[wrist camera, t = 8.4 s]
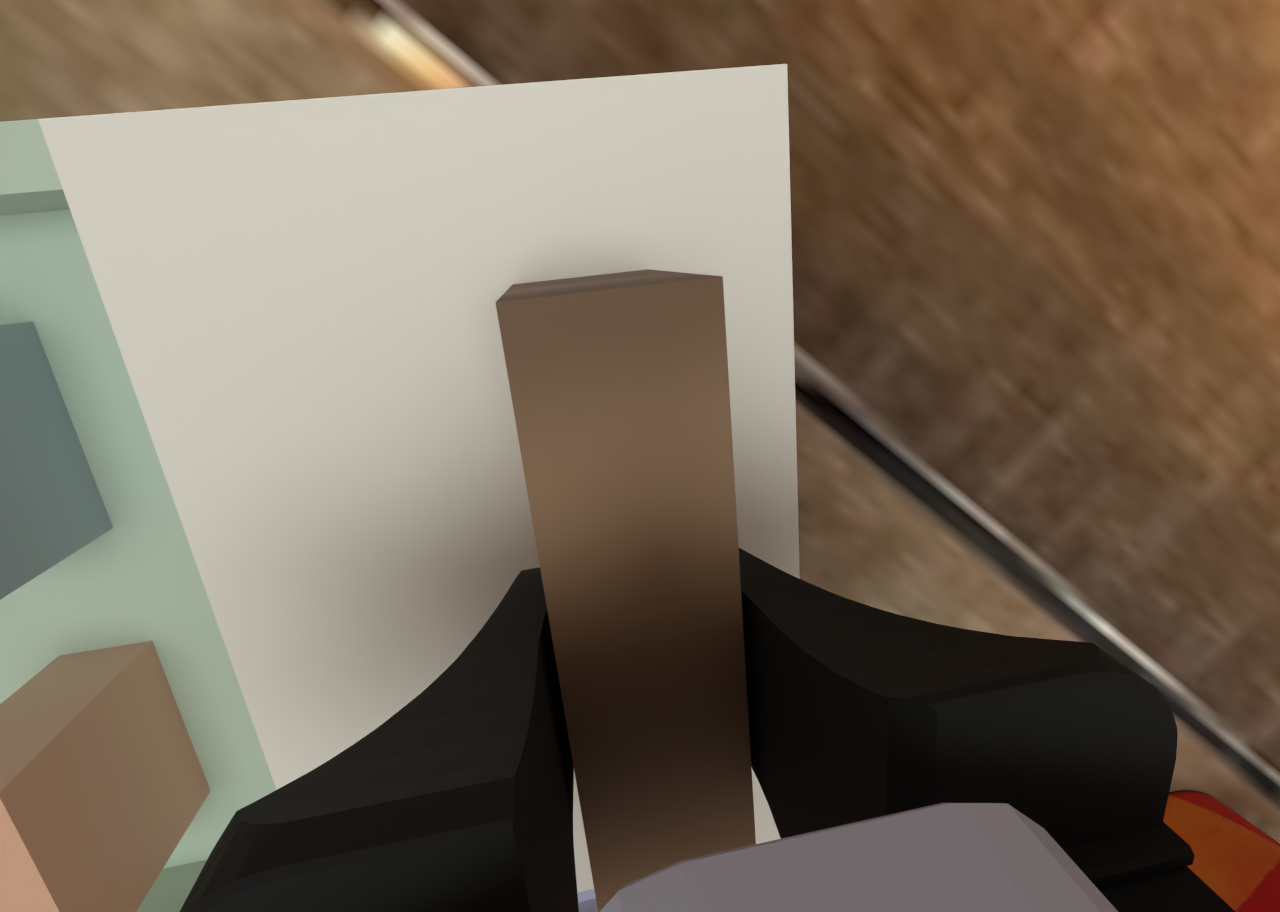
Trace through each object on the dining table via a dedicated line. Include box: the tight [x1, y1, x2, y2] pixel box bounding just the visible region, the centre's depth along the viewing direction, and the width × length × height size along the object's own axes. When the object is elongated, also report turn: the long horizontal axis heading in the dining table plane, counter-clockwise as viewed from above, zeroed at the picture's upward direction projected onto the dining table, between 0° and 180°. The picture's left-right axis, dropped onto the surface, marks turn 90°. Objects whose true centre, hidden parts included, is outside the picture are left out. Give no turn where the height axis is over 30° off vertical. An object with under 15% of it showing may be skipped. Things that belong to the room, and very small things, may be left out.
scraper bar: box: [495, 269, 756, 912], centre depth 11 cm, size 12×2×5 cm, turn 6°
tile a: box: [0, 641, 210, 912], centre depth 13 cm, size 4×4×2 cm
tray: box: [0, 119, 276, 912], centre depth 13 cm, size 18×10×3 cm, turn 6°
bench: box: [38, 64, 800, 893], centre depth 15 cm, size 18×12×3 cm, turn 6°
